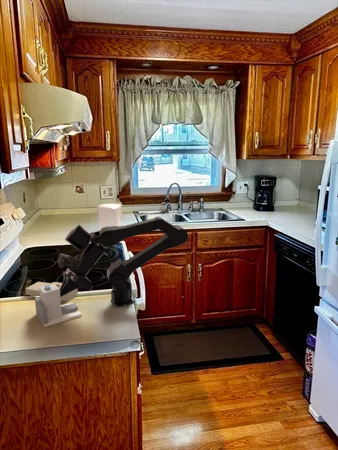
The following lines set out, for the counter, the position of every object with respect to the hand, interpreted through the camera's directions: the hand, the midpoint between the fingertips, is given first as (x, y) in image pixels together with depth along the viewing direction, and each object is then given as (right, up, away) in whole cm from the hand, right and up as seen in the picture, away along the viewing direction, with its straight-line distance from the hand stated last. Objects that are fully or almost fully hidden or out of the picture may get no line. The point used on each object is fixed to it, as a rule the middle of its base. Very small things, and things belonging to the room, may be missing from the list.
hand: (58, 296), depth 111 cm
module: (-2, -7, 0) cm, 7 cm away
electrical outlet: (-8, -4, +17) cm, 19 cm away
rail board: (0, -7, +1) cm, 7 cm away
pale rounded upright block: (-1, +15, +100) cm, 101 cm away
